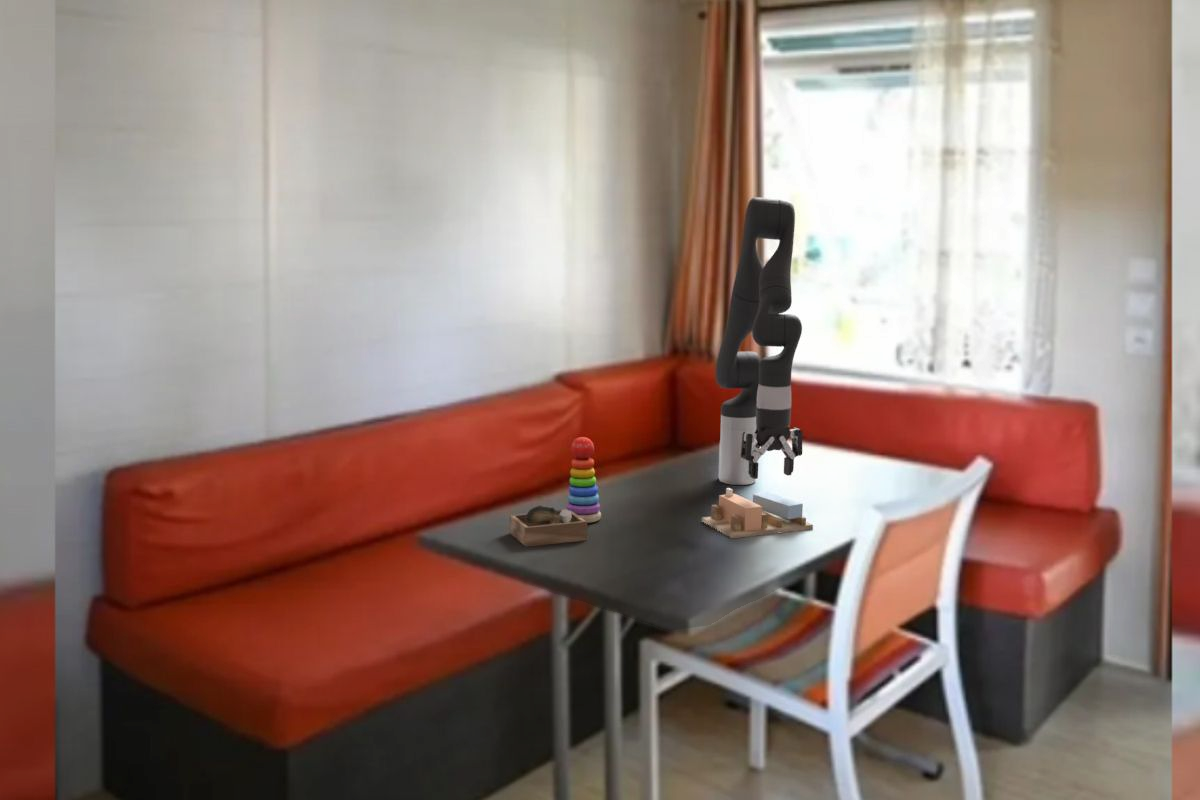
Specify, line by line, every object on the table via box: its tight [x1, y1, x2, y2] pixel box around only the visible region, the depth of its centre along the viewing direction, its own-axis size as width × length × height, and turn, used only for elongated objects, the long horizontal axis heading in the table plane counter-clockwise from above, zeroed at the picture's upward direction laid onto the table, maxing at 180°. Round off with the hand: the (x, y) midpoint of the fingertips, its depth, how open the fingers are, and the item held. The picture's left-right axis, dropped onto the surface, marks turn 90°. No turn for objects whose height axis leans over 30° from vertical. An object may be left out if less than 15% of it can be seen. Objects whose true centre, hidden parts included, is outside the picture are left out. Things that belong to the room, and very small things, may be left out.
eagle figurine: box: [525, 505, 572, 525], centre depth 253 cm, size 8×7×9 cm
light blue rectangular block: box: [752, 491, 804, 519], centre depth 265 cm, size 12×4×3 cm, turn 33°
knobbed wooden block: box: [718, 487, 762, 531], centre depth 262 cm, size 12×4×6 cm, turn 22°
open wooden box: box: [509, 509, 588, 548], centre depth 254 cm, size 11×14×4 cm
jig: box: [701, 504, 814, 539], centre depth 264 cm, size 14×20×4 cm
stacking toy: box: [566, 436, 602, 524], centre depth 266 cm, size 8×8×19 cm
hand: (770, 476), depth 265 cm, fingers open, 8 cm apart
